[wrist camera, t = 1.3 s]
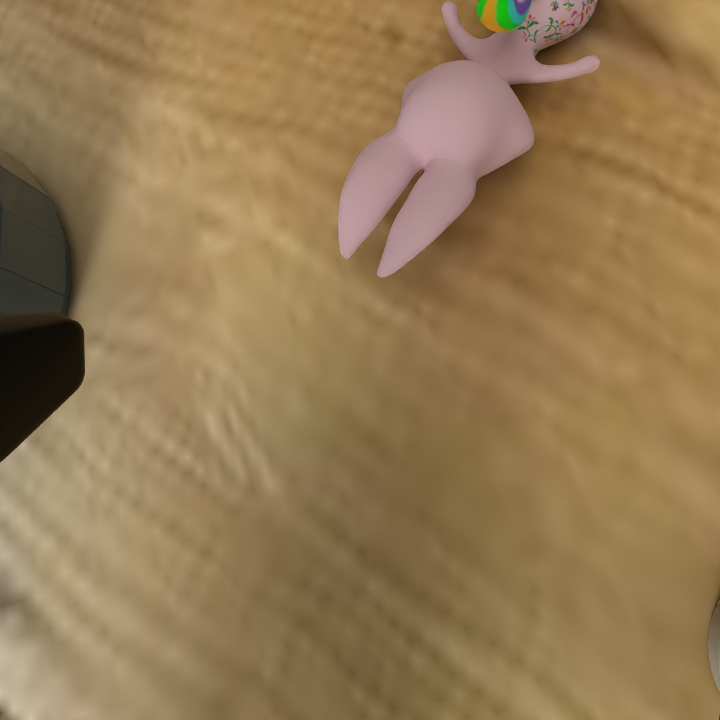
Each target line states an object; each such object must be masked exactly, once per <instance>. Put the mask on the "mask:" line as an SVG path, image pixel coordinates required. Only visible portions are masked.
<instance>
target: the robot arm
mask: <svg viewBox="0 0 720 720" xmlns="http://www.w3.org/2000/svg"><path fill="white" fill-rule="evenodd" d="M84 375H85V353H84V331H83V328H82V326H81V325H80V324H79V323H78V322H77V321H75V320H72V319H70V318H68V317H66V316H63V315H61V314H58V313H51V312H50V313H32V314H15V315H0V462H2V461H3V460H4V459H5V458H6V457H7V456H8V455H9V454H10V453H11V452H12V451H14V450H15V449H16V448H17V447H18V446H19V445H20V444H21V443H22V442H23V441H24V440H25V439H26V438H27V437H28V436H29V435H30V434H31V433H32V432H33V431H35V430H36V429H37V428H38V427H39V426H40V425H41V424H42V423H43V422H44V421H45V420H46V419H47V418H48V417H49V416H50V415H51V414H52V413H53V412H54V411H55V410H57V409H58V408H59V407H60V406H61V405H62V404H63V403H64V402H65V401H66V400H67V399H68V398H69V397H70V396H71V395H72V394H73V393H74V392H75V391H76V390H77V389H78V388H79V386H80V385H81V383H82V381H83V379H84ZM719 720H720V717H719Z"/></svg>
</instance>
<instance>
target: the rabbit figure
mask: <svg viewBox="0 0 720 720" xmlns="http://www.w3.org/2000/svg"><path fill="white" fill-rule="evenodd" d="M596 4H597V0H479V2H478V4H477V7H476V12H477V15H478V17H479V19H480V21H481V22H482V24H483V25H484V26H485V27H486V28H487V29H489V30H491V31H494V32H495V33H494V34H493V35H491V36H490V37H488V38H485V39H477V38H475V37H473V36H471V35H470V34H469V33H468V32H467V31H466V30H465V29H464V28H463V26H462V25H461V23H460V21H459V18H458V10H457V6H456V5H455V4H454V3H453V2H452V1H446V2H444V3H443V5H442V10H441V11H442V15H443V18H444V21H445V24H446V27H447V30H448V32H449V35H450V36H451V38H452V40H453V42H454V43H455V45H456V46H457V47H458V49H459V50H460V52H461V53H462V54H463V55H464V57H465V58H466V59H467V60H457V61H451V62H446V63H443V64H441V65H438V66H436V67H434V68H432V69H431V70H429V71H428V72H426V73H424V74H422V75H420V76H418V77H416V78H415V79H413V80H412V81H410V82H409V83H408V84H407V86H406V87H405V89H404V92H403V98H402V106H401V111H400V114H399V117H398V120H397V122H396V124H395V126H394V128H393V129H392V130H391V131H389V132H388V133H386V134H384V135H382V136H380V137H378V138H377V139H375V140H373V141H372V142H371V143H370V144H368V145H367V146H366V147H365V148H364V150H363V151H362V152H361V153H360V155H359V156H358V157H357V159H356V161H355V162H354V164H353V166H352V168H351V170H350V172H349V174H348V176H347V178H346V181H345V183H344V186H343V189H342V192H341V197H340V203H339V213H338V238H339V247H340V251H341V254H342V256H343V257H344V258H346V259H349V258H350V257H351V256H352V255H353V254H354V252H355V251H356V250H357V249H358V247H359V246H360V245H361V244H362V242H363V241H364V240H365V239H366V238H367V237H368V236H369V235H370V233H371V232H372V231H373V230H374V229H375V228H376V227H377V225H378V224H379V223H380V221H381V220H382V219H383V217H384V216H385V215H386V213H387V212H388V211H389V209H390V208H391V207H392V206H393V204H394V203H395V202H396V201H397V199H398V198H399V197H400V195H401V194H402V192H403V191H404V190H405V188H406V187H407V185H408V184H409V183H410V181H411V180H412V178H413V177H414V176H415V174H416V173H417V172H418V171H420V170H424V171H425V172H424V173H423V174H422V175H421V177H420V178H419V179H418V181H417V182H416V184H415V186H414V187H413V189H412V191H411V193H410V194H409V196H408V198H407V200H406V201H405V203H404V205H403V206H402V208H401V210H400V211H399V213H398V214H397V216H396V218H395V220H394V222H393V225H392V227H391V230H390V232H389V235H388V239H387V242H386V245H385V249H384V252H383V255H382V258H381V261H380V264H379V267H378V270H377V275H378V276H379V277H387V276H389V275H391V274H393V273H395V272H396V271H398V270H399V269H400V268H402V267H403V266H404V265H406V264H407V263H408V262H409V261H410V260H412V259H413V258H414V257H415V256H416V255H418V254H419V253H420V252H421V251H422V250H423V249H425V248H426V247H427V246H428V245H429V244H431V243H432V242H433V241H434V240H435V239H436V238H437V237H438V236H439V235H440V234H441V233H442V232H443V231H444V230H445V229H446V228H447V227H448V226H449V225H450V224H451V223H452V222H453V221H454V220H455V219H457V218H458V217H459V216H460V215H461V214H462V213H463V212H464V210H465V209H466V208H467V207H468V206H469V204H470V203H471V201H472V200H473V198H474V195H475V192H476V183H477V181H478V179H479V178H480V177H482V176H484V175H486V174H488V173H490V172H492V171H494V170H496V169H497V168H499V167H501V166H503V165H505V164H506V163H508V162H510V161H511V160H513V159H515V158H516V157H518V156H520V155H522V154H523V153H525V152H527V151H528V150H529V149H530V148H531V147H532V146H533V143H534V131H533V128H532V125H531V123H530V120H529V118H528V116H527V114H526V112H525V110H524V108H523V106H522V105H521V103H520V101H519V100H518V98H517V96H516V95H515V93H514V92H513V90H512V89H511V87H510V86H509V85H513V84H535V83H545V82H554V81H560V80H564V79H569V78H573V77H577V76H580V75H584V74H587V73H590V72H593V71H594V70H596V69H597V68H598V67H599V65H600V61H599V59H598V57H597V56H595V55H588V56H585V57H583V58H581V59H579V60H577V61H575V62H572V63H569V64H563V65H544V64H541V63H539V62H538V61H537V60H536V59H535V56H536V54H537V53H538V52H539V51H540V50H542V49H544V48H547V47H549V46H551V45H554V44H556V43H558V42H560V41H563V40H565V39H567V38H569V37H571V36H573V35H575V34H576V33H577V32H579V31H580V30H581V29H582V28H583V27H584V26H585V24H586V23H587V22H588V21H589V19H590V18H591V16H592V14H593V12H594V10H595V7H596Z"/></svg>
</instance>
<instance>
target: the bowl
mask: <svg viewBox="0 0 720 720" xmlns="http://www.w3.org/2000/svg"><path fill="white" fill-rule="evenodd" d="M70 286H71V265H70V257H69V249H68V244H67V240H66V237H65V233H64V229H63V227H62V224H61V222H60V220H59V217H58V215H57V213H56V211H55V209H54V205H53V202H52V200H51V198H50V196H49V195H48V194H47V192H46V191H45V190H44V189H43V187H42V186H41V185H40V184H39V182H38V181H37V180H36V178H35V177H34V176H33V175H32V173H31V172H30V171H29V170H28V168H27V167H26V166H25V165H24V164H22V163H21V162H19V161H18V160H16V159H15V158H13V157H12V156H10V155H9V154H7V153H6V152H4V151H3V150H2V149H0V315H15V314H32V313H50V312H51V313H58V314H61V315H63V316H66V312H67V308H68V302H69V294H70Z"/></svg>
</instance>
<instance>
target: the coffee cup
mask: <svg viewBox="0 0 720 720" xmlns="http://www.w3.org/2000/svg"><path fill="white" fill-rule="evenodd" d="M708 654H709V661H710V666H711V670H712V674H713V677H714V680H715V683H716V685H717V688H718V690H719V692H720V600H719V602H718V604H717V606H716V608H715V610H714V613H713V616H712V619H711V623H710V628H709V635H708Z"/></svg>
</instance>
